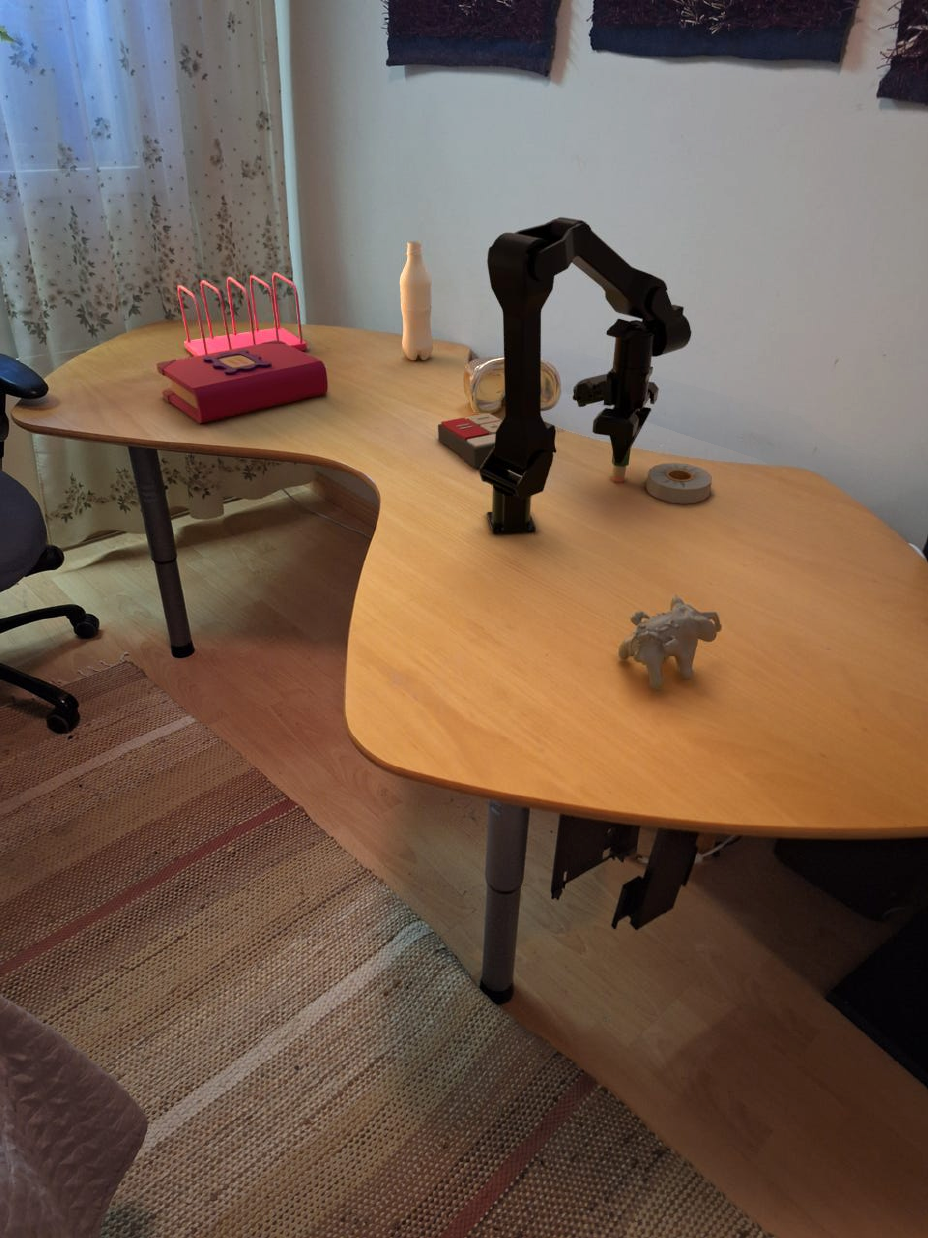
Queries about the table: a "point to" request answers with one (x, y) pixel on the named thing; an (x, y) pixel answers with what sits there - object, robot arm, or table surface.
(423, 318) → the water bottle
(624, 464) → the pencil
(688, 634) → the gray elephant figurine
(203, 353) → the file sorter
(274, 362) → the book
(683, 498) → the tape
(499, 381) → the diving goggles
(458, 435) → the calculator
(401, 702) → the table surface
